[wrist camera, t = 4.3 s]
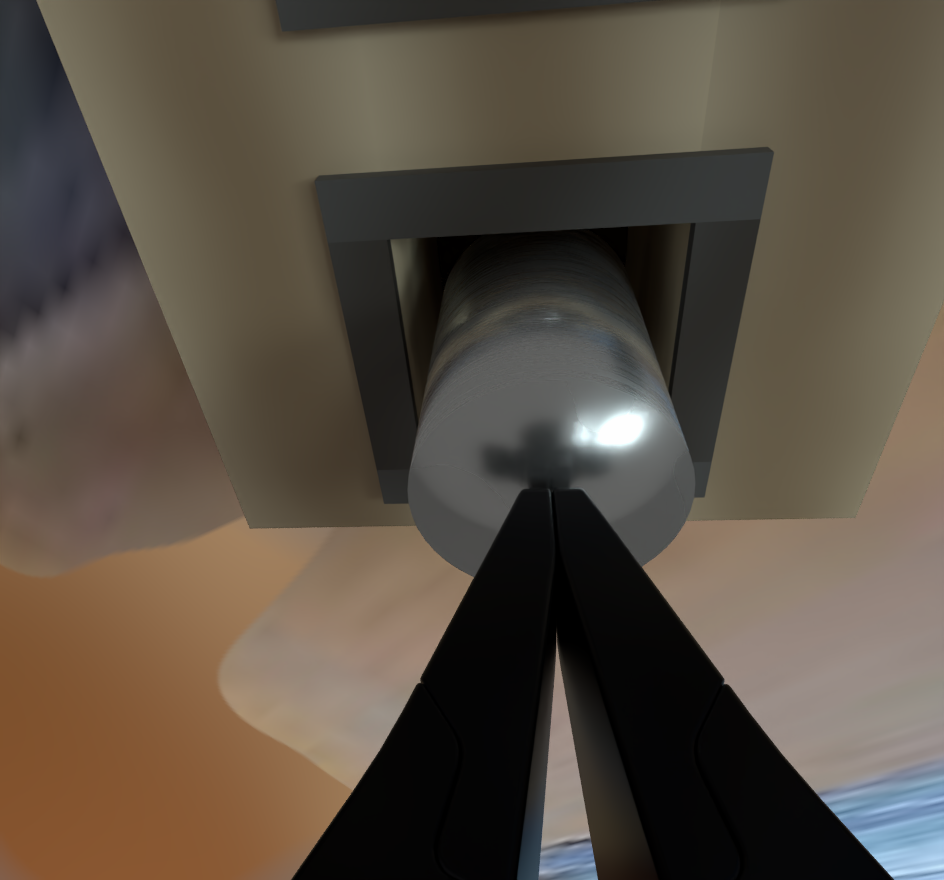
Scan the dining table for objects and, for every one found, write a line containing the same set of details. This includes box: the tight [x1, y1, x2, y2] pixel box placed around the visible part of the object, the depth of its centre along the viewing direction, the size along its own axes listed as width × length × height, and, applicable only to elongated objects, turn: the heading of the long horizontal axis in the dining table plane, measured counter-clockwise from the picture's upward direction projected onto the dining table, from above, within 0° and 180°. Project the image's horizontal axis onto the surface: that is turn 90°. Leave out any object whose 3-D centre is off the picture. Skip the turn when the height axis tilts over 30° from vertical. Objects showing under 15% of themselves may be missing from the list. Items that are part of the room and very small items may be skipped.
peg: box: [407, 229, 695, 577], centre depth 11 cm, size 4×4×6 cm
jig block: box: [36, 0, 944, 528], centre depth 12 cm, size 14×18×6 cm
